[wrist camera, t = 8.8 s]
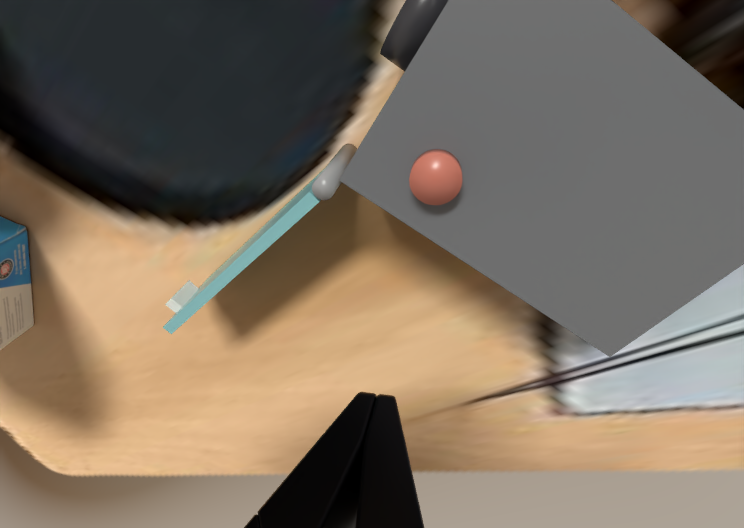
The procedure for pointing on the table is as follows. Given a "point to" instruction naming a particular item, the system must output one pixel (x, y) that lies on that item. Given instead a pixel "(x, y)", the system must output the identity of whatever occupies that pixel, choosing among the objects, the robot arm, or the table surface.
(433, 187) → the box
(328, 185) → the side door
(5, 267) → the ink box
